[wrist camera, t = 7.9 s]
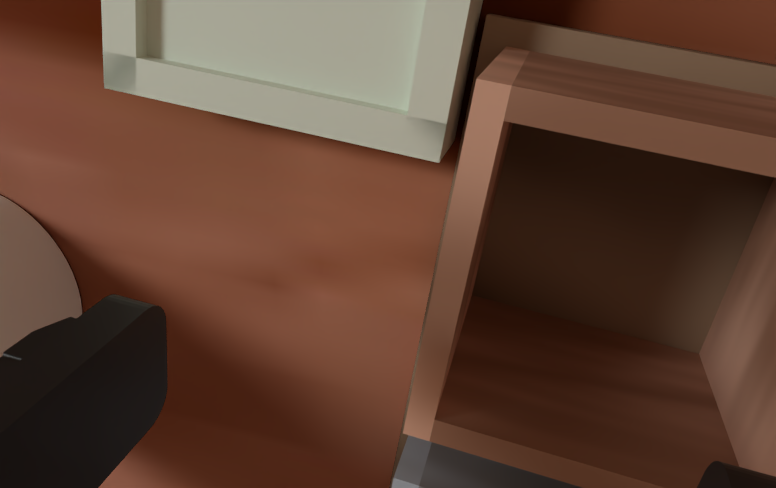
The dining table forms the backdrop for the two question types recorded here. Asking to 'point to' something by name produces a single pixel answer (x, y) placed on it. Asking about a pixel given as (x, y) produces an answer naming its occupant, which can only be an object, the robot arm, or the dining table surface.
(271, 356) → the dining table surface
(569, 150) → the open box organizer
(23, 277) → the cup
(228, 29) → the pocket board
